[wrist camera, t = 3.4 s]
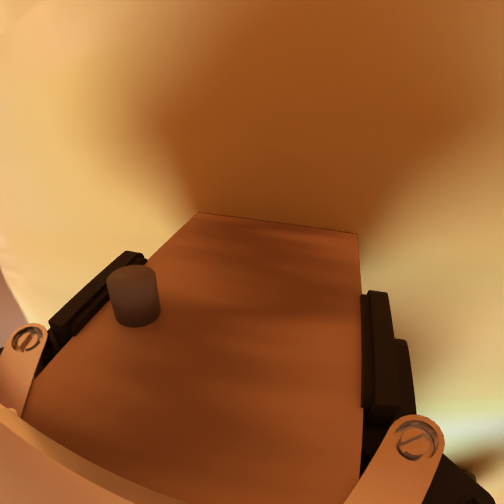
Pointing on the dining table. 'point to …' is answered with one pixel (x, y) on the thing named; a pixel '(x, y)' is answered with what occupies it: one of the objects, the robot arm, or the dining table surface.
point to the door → (220, 368)
